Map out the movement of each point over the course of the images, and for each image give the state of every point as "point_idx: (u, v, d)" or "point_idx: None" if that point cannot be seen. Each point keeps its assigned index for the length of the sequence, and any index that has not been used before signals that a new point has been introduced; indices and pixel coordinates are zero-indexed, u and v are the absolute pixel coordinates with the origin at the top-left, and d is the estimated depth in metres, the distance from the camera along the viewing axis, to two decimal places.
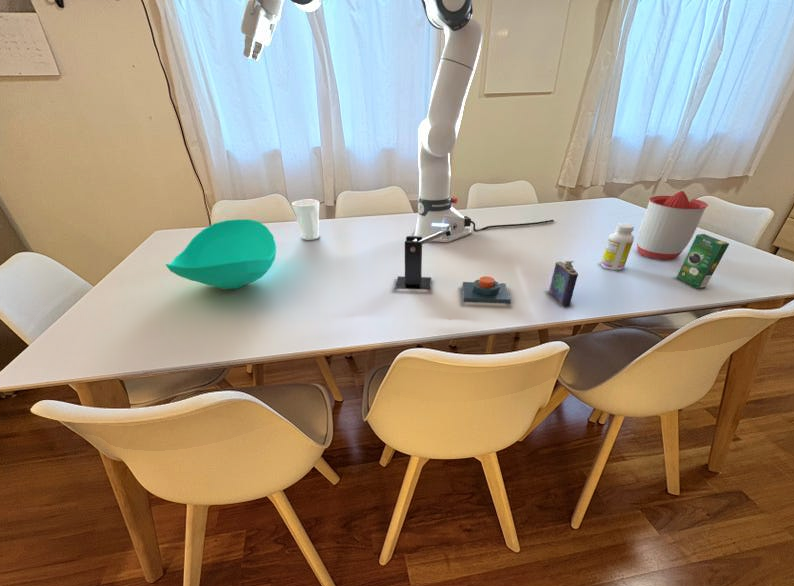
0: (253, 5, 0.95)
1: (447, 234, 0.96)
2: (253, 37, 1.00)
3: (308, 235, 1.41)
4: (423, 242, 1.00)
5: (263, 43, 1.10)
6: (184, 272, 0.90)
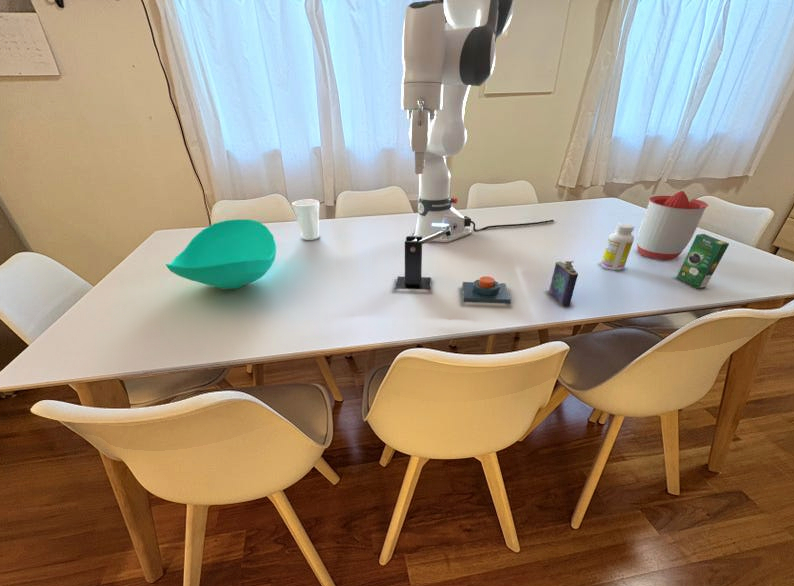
0: (421, 112, 0.74)
1: (447, 234, 0.96)
2: (426, 149, 0.78)
3: (308, 235, 1.41)
4: (423, 242, 1.00)
5: None
6: (184, 272, 0.90)
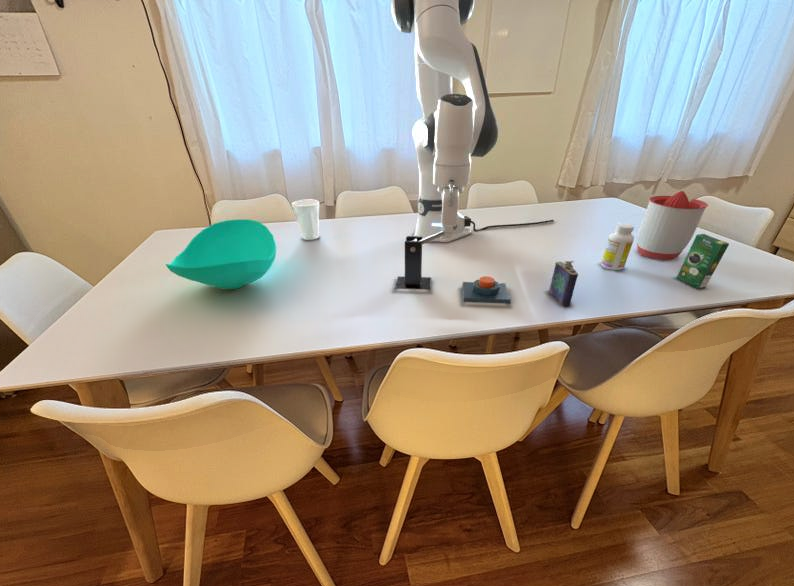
0: (451, 197, 0.83)
1: None
2: (455, 224, 0.88)
3: (308, 235, 1.41)
4: (423, 242, 1.00)
5: None
6: (184, 272, 0.90)
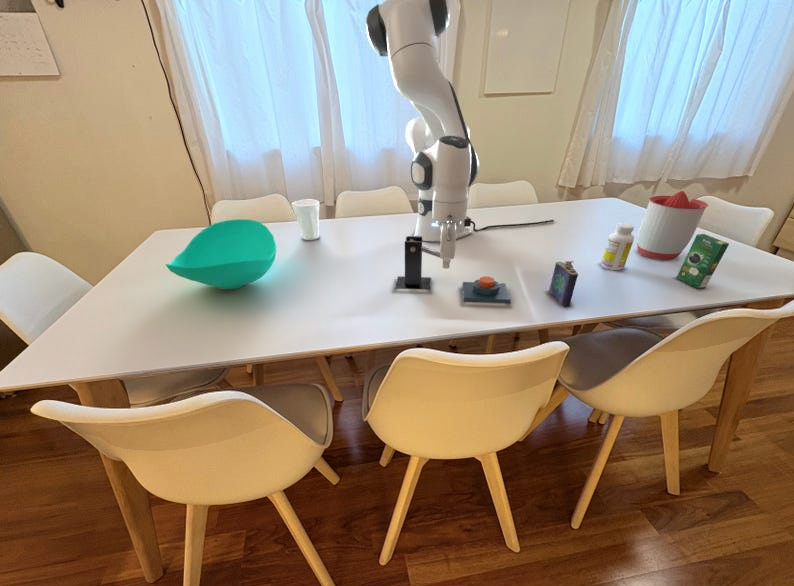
0: (449, 233, 0.88)
1: None
2: (453, 257, 0.93)
3: (308, 235, 1.41)
4: (423, 250, 1.01)
5: None
6: (184, 272, 0.90)
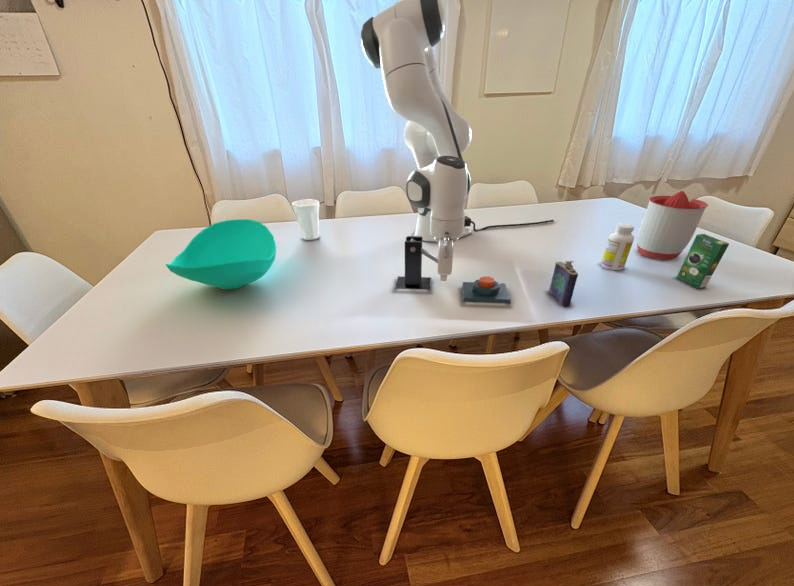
0: (446, 250, 0.91)
1: None
2: (450, 273, 0.95)
3: (308, 235, 1.41)
4: (422, 252, 1.02)
5: None
6: (184, 272, 0.90)
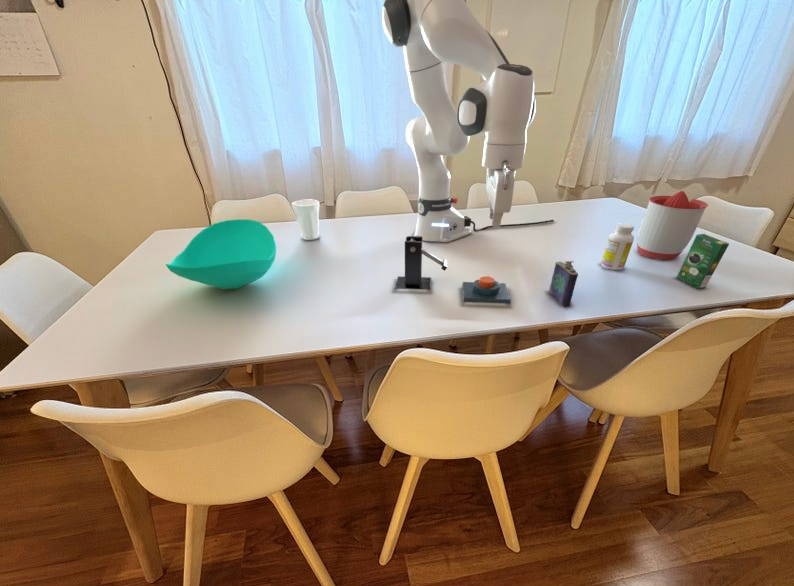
0: (508, 179, 0.75)
1: (443, 268, 1.02)
2: (509, 210, 0.79)
3: (308, 235, 1.41)
4: (422, 252, 1.02)
5: None
6: (184, 272, 0.90)
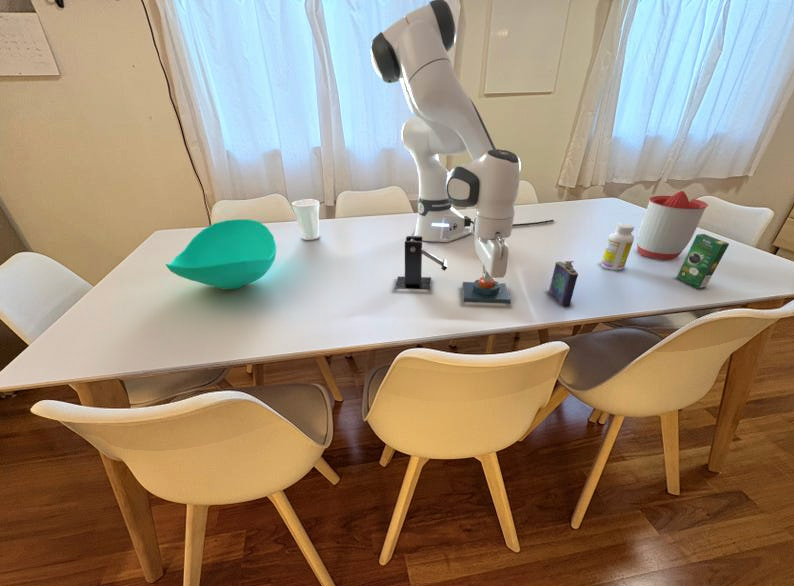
0: (503, 251, 0.84)
1: (443, 268, 1.02)
2: (504, 275, 0.88)
3: (308, 235, 1.41)
4: (422, 252, 1.02)
5: None
6: (184, 272, 0.90)
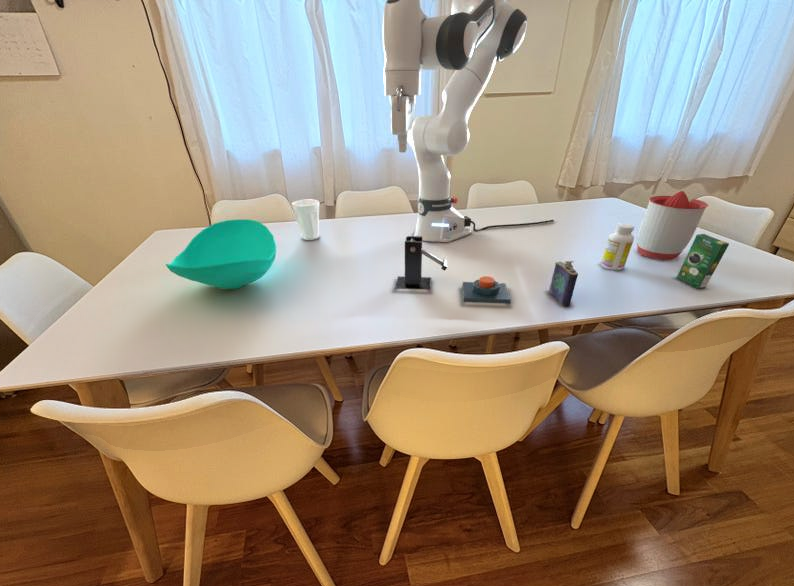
0: (399, 99, 0.83)
1: (443, 268, 1.02)
2: (405, 132, 0.87)
3: (308, 235, 1.41)
4: (422, 252, 1.02)
5: (410, 129, 0.97)
6: (184, 272, 0.90)
